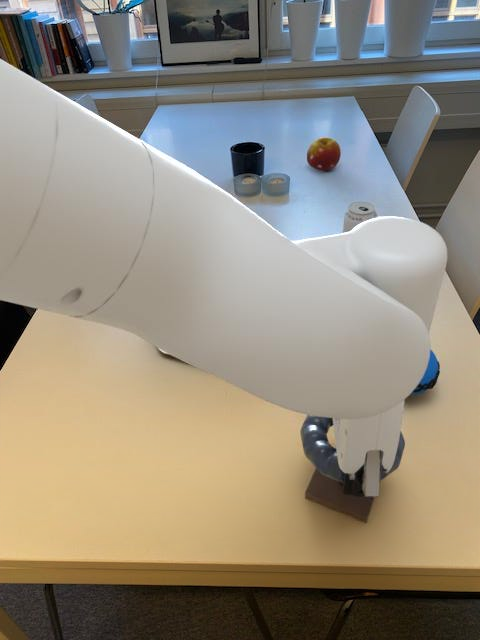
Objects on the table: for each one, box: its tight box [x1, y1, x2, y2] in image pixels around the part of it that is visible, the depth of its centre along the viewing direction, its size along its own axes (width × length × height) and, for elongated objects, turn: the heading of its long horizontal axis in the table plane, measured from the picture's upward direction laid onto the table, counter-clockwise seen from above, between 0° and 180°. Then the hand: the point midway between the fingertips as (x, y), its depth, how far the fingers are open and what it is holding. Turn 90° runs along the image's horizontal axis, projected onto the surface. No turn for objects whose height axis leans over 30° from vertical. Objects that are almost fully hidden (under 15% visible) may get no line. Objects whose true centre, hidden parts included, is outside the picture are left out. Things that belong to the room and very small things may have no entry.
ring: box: [300, 415, 406, 483], centre depth 57 cm, size 12×12×3 cm
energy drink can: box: [342, 201, 379, 233], centre depth 94 cm, size 6×6×15 cm
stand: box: [304, 447, 381, 524], centre depth 60 cm, size 8×8×10 cm
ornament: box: [409, 348, 441, 396], centre depth 73 cm, size 9×9×10 cm
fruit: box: [306, 136, 342, 172], centre depth 138 cm, size 10×9×8 cm
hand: (355, 474), depth 54 cm, fingers closed on ring, 3 cm apart
